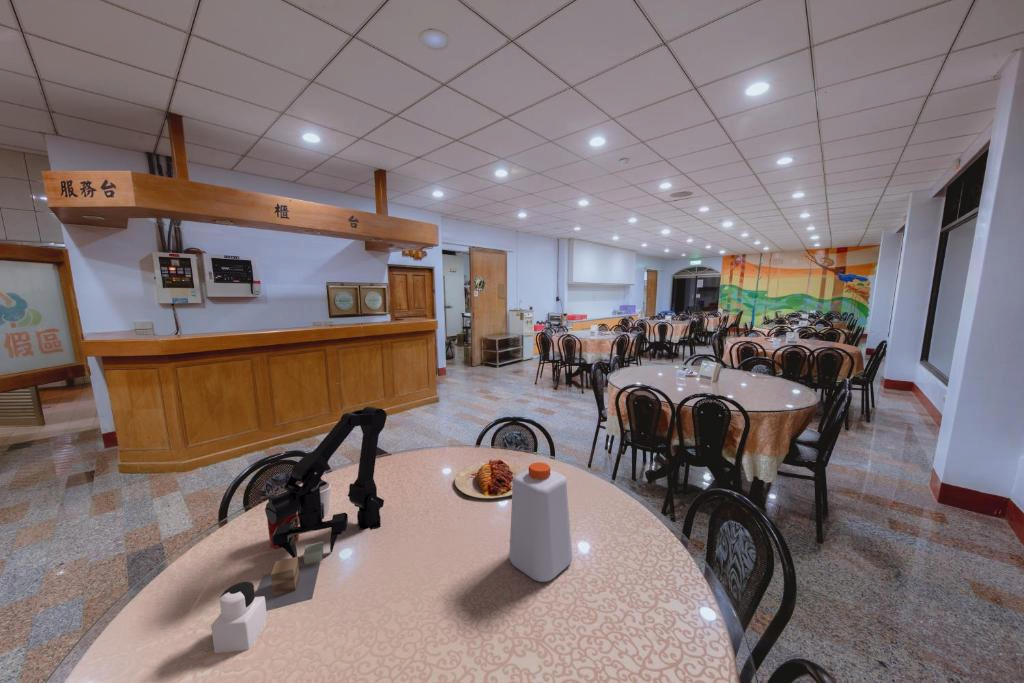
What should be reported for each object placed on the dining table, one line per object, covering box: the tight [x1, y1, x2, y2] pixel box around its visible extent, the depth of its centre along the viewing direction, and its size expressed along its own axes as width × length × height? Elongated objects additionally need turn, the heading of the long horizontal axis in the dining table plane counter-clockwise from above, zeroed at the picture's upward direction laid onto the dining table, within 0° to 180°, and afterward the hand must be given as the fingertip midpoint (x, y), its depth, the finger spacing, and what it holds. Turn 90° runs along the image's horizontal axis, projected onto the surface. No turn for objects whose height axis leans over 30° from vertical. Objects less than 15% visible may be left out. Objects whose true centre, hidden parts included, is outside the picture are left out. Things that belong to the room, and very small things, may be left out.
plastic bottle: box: [508, 462, 573, 583], centre depth 103 cm, size 15×15×28 cm
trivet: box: [255, 561, 321, 612], centre depth 96 cm, size 14×14×1 cm
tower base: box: [272, 566, 300, 596], centre depth 96 cm, size 5×5×3 cm
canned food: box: [266, 512, 300, 549], centre depth 114 cm, size 8×8×11 cm
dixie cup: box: [320, 481, 332, 518], centre depth 129 cm, size 8×8×10 cm
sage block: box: [303, 541, 325, 565], centre depth 107 cm, size 4×4×4 cm
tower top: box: [270, 556, 299, 585], centre depth 95 cm, size 5×5×3 cm
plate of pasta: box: [454, 459, 526, 499], centre depth 151 cm, size 31×35×7 cm
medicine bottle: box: [210, 581, 268, 654], centre depth 81 cm, size 7×7×12 cm
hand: (314, 555), depth 107 cm, fingers open, 9 cm apart
